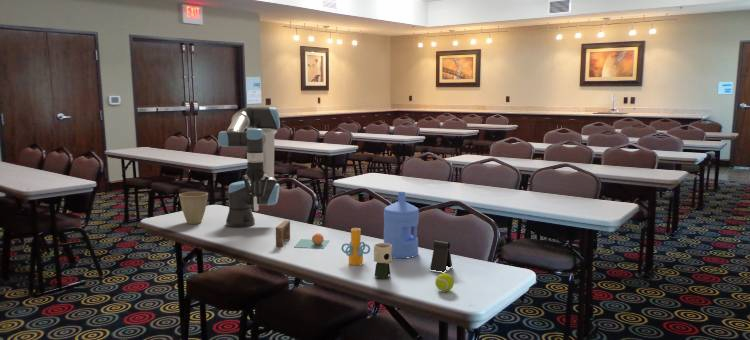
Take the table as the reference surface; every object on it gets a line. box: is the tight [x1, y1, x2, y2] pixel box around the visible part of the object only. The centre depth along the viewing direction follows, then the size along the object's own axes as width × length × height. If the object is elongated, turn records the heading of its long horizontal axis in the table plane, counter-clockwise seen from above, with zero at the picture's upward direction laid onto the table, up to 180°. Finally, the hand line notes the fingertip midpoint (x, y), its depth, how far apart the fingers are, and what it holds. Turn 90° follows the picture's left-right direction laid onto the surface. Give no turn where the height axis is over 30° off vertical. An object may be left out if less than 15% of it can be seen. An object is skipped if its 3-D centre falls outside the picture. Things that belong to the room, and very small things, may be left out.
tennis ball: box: [434, 272, 455, 292], centre depth 205 cm, size 7×7×7 cm
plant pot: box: [178, 191, 209, 225], centre depth 306 cm, size 15×15×16 cm
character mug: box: [373, 242, 393, 279], centre depth 219 cm, size 11×7×13 cm, turn 146°
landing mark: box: [294, 238, 330, 250], centre depth 267 cm, size 14×14×1 cm
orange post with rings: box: [340, 227, 371, 266], centre depth 236 cm, size 12×10×15 cm
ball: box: [311, 232, 325, 245], centre depth 265 cm, size 6×6×6 cm
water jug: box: [383, 191, 420, 259], centre depth 250 cm, size 16×16×28 cm
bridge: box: [275, 220, 291, 248], centre depth 268 cm, size 3×14×9 cm, turn 174°
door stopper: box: [429, 239, 453, 272], centre depth 230 cm, size 9×6×12 cm, turn 149°
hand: (256, 210), depth 268 cm, fingers closed
